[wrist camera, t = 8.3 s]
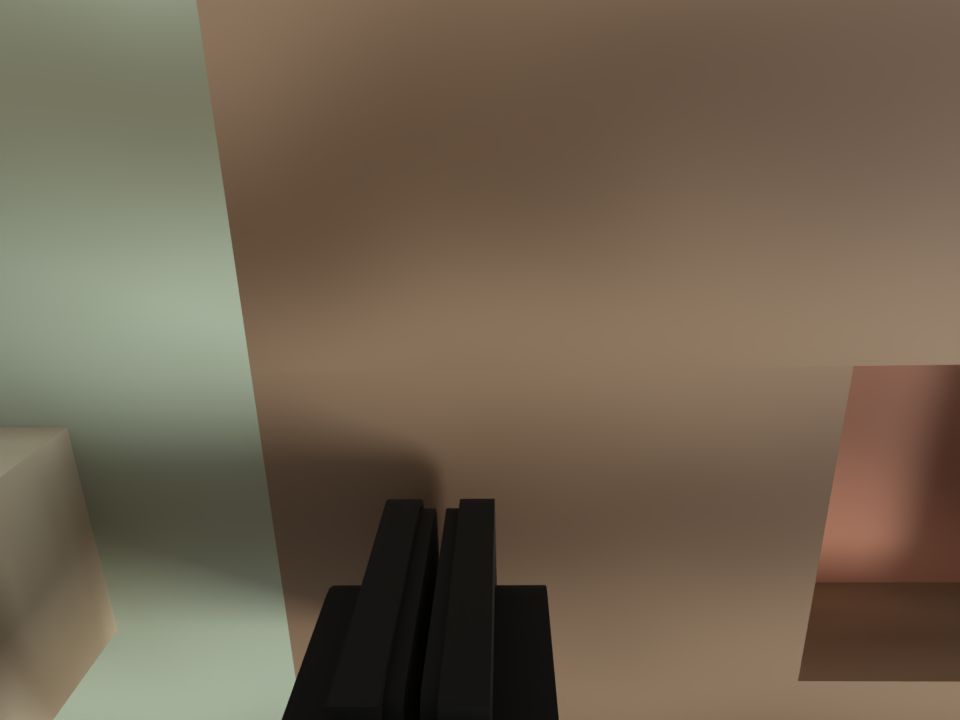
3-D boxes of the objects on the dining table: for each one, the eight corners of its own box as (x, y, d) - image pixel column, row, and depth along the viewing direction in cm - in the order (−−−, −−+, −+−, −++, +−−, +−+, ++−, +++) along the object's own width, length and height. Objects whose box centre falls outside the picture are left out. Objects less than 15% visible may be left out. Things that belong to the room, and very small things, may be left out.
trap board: (1412, 809, 17) (1591, 948, 14) (53, 797, 18) (-29, 925, 15) (2025, -172, 10) (2608, -275, 7) (-240, -96, 11) (-488, -162, 8)
